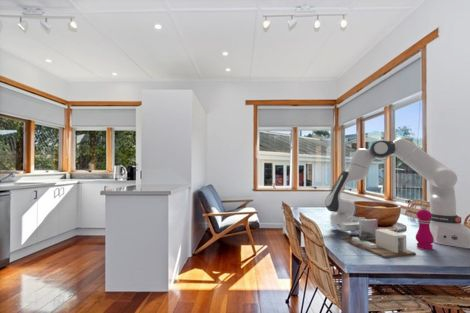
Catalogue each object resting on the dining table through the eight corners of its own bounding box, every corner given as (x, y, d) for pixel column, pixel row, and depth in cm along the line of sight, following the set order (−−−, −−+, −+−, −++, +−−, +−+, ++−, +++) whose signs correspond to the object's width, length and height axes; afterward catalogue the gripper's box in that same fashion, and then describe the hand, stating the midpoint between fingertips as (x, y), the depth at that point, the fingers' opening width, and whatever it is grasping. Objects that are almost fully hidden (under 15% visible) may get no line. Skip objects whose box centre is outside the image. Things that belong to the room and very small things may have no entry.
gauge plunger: (352, 239, 139) (352, 220, 140) (375, 237, 143) (375, 219, 143) (381, 251, 120) (381, 229, 120) (407, 249, 123) (406, 227, 124)
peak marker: (359, 239, 134) (359, 236, 134) (364, 239, 135) (364, 235, 135) (360, 240, 133) (360, 236, 133) (366, 239, 134) (365, 236, 134)
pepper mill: (412, 245, 134) (411, 205, 134) (425, 245, 134) (424, 205, 135) (423, 250, 127) (422, 208, 127) (437, 250, 127) (436, 207, 128)
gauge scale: (351, 240, 140) (351, 237, 140) (356, 239, 141) (356, 236, 141) (371, 248, 126) (371, 245, 127) (376, 247, 127) (376, 244, 127)
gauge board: (341, 239, 145) (341, 237, 146) (368, 237, 149) (368, 235, 149) (383, 258, 116) (383, 255, 116) (415, 255, 120) (415, 252, 120)
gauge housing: (375, 245, 132) (375, 229, 132) (386, 244, 133) (385, 229, 133) (395, 252, 120) (395, 236, 120) (406, 251, 121) (406, 235, 122)
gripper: (334, 218, 153) (350, 224, 139) (365, 217, 157) (383, 222, 144) (334, 229, 153) (350, 236, 139) (365, 227, 157) (383, 234, 144)
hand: (367, 229), depth 142 cm, fingers closed, pressing on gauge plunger
